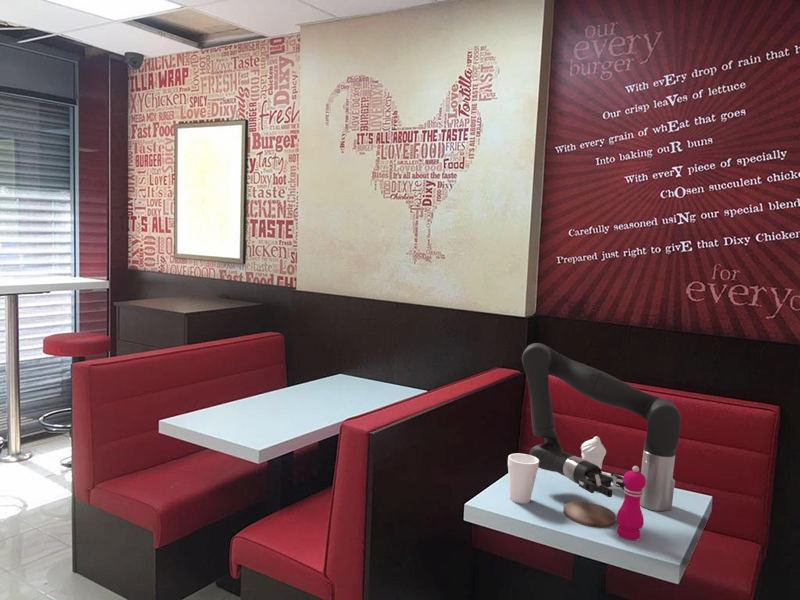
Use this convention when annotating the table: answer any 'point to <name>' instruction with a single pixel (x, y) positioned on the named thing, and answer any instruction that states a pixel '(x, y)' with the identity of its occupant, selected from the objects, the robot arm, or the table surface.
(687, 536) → the table surface
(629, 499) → the pepper mill
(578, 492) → the table surface
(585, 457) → the soft serve ice cream cone
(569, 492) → the table surface
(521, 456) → the foam cup
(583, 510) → the walnut board
